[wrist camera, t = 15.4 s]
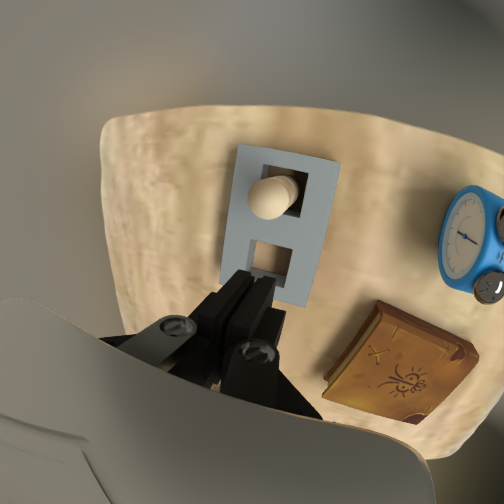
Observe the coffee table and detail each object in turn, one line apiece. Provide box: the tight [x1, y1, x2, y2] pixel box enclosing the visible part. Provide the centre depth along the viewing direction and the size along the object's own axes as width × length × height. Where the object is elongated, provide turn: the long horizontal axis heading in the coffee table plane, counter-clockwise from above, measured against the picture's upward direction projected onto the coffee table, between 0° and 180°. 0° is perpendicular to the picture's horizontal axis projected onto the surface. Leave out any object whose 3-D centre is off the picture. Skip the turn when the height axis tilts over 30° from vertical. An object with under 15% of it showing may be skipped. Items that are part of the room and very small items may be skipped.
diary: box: [322, 301, 479, 425], centre depth 38 cm, size 23×19×6 cm
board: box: [219, 144, 341, 308], centre depth 37 cm, size 20×13×4 cm, turn 171°
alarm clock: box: [438, 185, 504, 305], centre depth 24 cm, size 13×6×15 cm, turn 170°
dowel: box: [248, 175, 300, 220], centre depth 31 cm, size 4×4×12 cm
